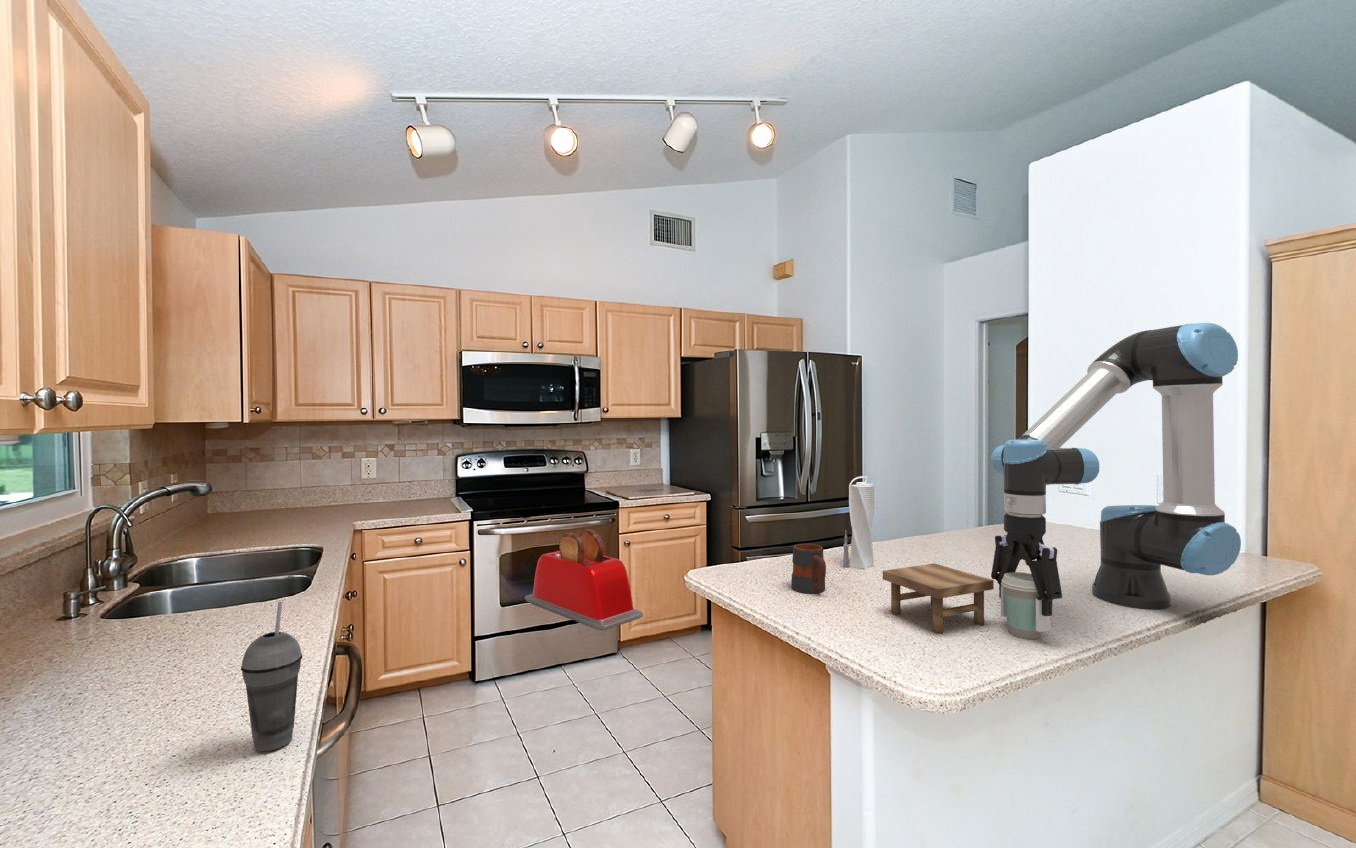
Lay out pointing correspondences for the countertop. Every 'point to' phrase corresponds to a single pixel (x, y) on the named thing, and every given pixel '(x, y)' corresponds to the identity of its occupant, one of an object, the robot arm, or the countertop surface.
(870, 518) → the skyscraper
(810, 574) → the mug
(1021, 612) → the coffee cup
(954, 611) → the stool
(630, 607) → the toaster
